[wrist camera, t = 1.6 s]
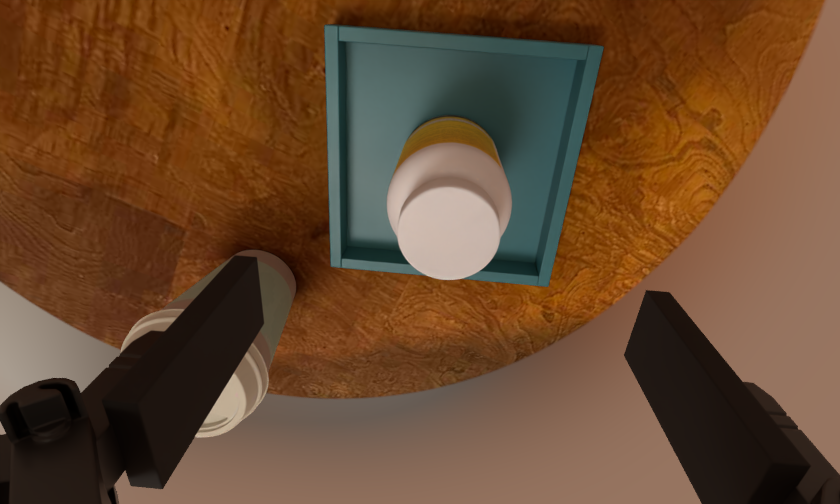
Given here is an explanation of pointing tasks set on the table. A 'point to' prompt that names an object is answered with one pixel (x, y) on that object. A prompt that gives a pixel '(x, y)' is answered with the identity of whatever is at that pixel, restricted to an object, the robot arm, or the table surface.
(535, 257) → the tray
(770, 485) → the robot arm
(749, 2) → the table surface
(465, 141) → the pill bottle
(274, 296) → the coffee cup
